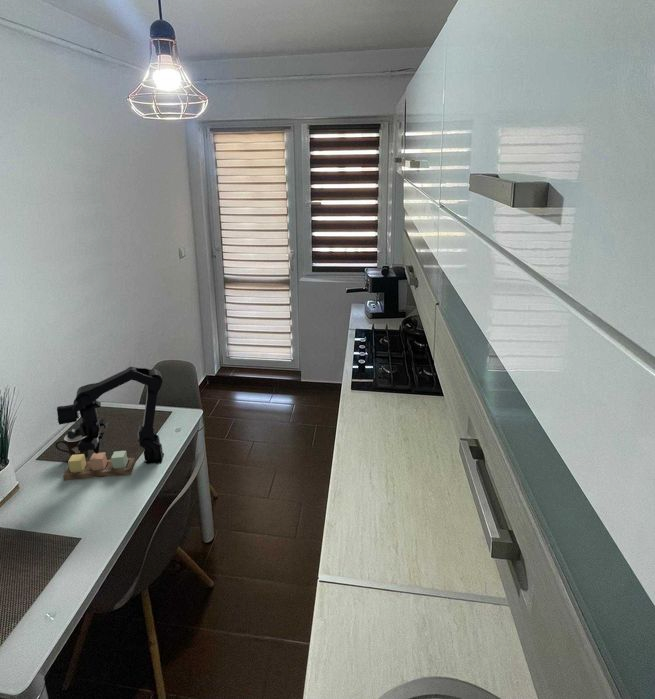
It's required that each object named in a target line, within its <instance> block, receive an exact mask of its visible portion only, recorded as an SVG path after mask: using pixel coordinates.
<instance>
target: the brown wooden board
mask: <svg viewBox="0 0 655 699" xmlns="http://www.w3.org/2000/svg"><path fill="white" fill-rule="evenodd" d="M127 458H128V463H127V465H126V467H125V468H117V469H113V465H112V460H111V458H110V459H107V465H106V467H105V469H104V470H93V471H92V468H91V464H90V460H88V461H86V464H87V465H86V467H85V468H84V470H83V471H81V472H70V468H69V465H68V466H67V468H66V469H65V471H64V472H63V474H62V478H63V481H64V482H65V481H74V480H75V481H76V480H88V479H98V478H99V479H100V478H107V477H108V478H110V477H121V476H131V475H132V473H133V470H134V468H135V465H136V463H137V462H136V458H135V457H127Z"/></svg>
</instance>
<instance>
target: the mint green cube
mask: <svg viewBox="0 0 655 699" xmlns="http://www.w3.org/2000/svg"><path fill="white" fill-rule="evenodd" d="M128 458H129V457H128V454H127V450H118V451H113V454H112V455H111V457H110V459H111V460H112V465H113V469H120V468H126V467H127V463H128Z"/></svg>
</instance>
